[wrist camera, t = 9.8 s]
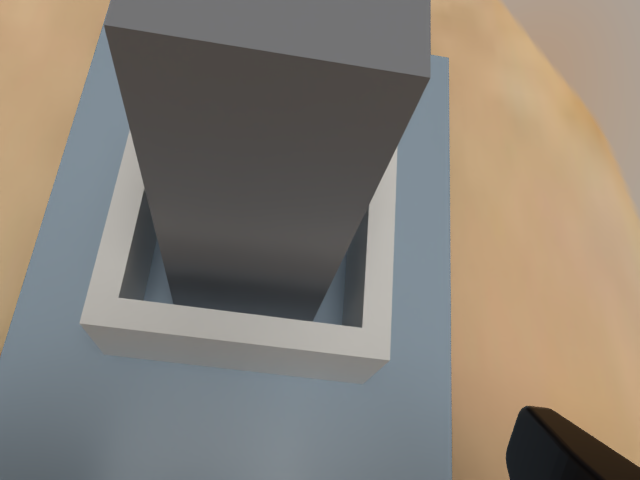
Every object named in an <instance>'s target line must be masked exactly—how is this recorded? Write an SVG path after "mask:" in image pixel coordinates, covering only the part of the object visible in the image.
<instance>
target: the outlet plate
mask: <svg viewBox="0 0 640 480" xmlns="http://www.w3.org/2000/svg"><path fill="white" fill-rule="evenodd" d="M110 2H111V1H110ZM109 5H110V4H109ZM108 9H109V8H108ZM107 12H108V11H107ZM106 15H107V14H106ZM105 19H106V17H105ZM104 22H105V21H104ZM0 480H452V416H451V287H450V158H449V58H447V57H441V56H435V55H431V78H430V80H429V82H428V84H427V86H426V88H425V90H424V92H423V94H422V96H421V98H420V101H419V103H418V105H417V107H416V109H415V111H414V113H413V115H412V117H411V119H410V121H409V123H408V125H407V127H406V129H405V132H404V134H403V136H402V138H401V140H400V142H399V144H398V146H397V148H396V150H395V152H394V154H393V156H392V158H391V161H390V163H389V165H388V167H387V169H386V171H385V173H384V175H383V177H382V179H381V181H380V183H379V185H378V187H377V189H376V192H375V194H374V196H373V198H372V200H371V202H370V204H369V206H368V208H367V210H366V212H365V214H364V216H363V218H362V221H361V223H360V225H359V227H358V229H357V231H356V233H355V235H354V237H353V239H352V241H351V243H350V245H349V247H348V249H347V252H346V254H345V256H344V258H343V260H342V262H341V264H340V266H339V268H338V270H337V272H336V274H335V276H334V278H333V281H332V283H331V285H330V287H329V289H328V291H327V293H326V295H325V297H324V299H323V301H322V303H321V305H320V307H319V309H318V312H317V314H316V316H315V318H314V320H313V322H311V321H303V320H295V319H287V318H279V317H271V316H263V315H255V314H246V313H238V312H230V311H222V310H214V309H206V308H198V307H190V306H182V305H174V304H173V300H172V296H171V292H170V288H169V284H168V280H167V276H166V272H165V268H164V264H163V260H162V256H161V252H160V248H159V244H158V240H157V236H156V232H155V228H154V224H153V220H152V216H151V212H150V208H149V204H148V200H147V196H146V192H145V188H144V184H143V180H142V176H141V172H140V168H139V164H138V160H137V156H136V152H135V148H134V144H133V140H132V136H131V132H130V128H129V124H128V120H127V116H126V112H125V108H124V104H123V100H122V96H121V92H120V88H119V84H118V80H117V76H116V72H115V68H114V64H113V60H112V56H111V52H110V48H109V44H108V40H107V36H106V32H105V28H104V24H103V27H102V30H101V33H100V37H99V40H98V43H97V46H96V50H95V53H94V56H93V59H92V63H91V66H90V69H89V72H88V75H87V79H86V82H85V85H84V88H83V92H82V95H81V98H80V101H79V105H78V108H77V111H76V114H75V117H74V121H73V124H72V127H71V130H70V134H69V137H68V140H67V143H66V147H65V150H64V153H63V156H62V159H61V163H60V166H59V169H58V172H57V176H56V179H55V182H54V185H53V189H52V192H51V195H50V198H49V201H48V205H47V208H46V211H45V214H44V218H43V221H42V224H41V227H40V231H39V234H38V237H37V240H36V243H35V247H34V250H33V253H32V256H31V260H30V263H29V266H28V269H27V273H26V276H25V279H24V282H23V285H22V289H21V292H20V295H19V298H18V302H17V305H16V308H15V311H14V315H13V318H12V321H11V324H10V327H9V331H8V334H7V337H6V340H5V344H4V347H3V350H2V353H1V357H0Z"/></svg>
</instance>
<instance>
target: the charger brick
mask: <svg viewBox="0 0 640 480" xmlns="http://www.w3.org/2000/svg"><path fill="white" fill-rule="evenodd" d="M104 28H105V32H106V36H107V40H108V44H109V48H110V52H111V56H112V60H113V64H114V68H115V72H116V76H117V80H118V84H119V88H120V92H121V96H122V100H123V104H124V108H125V112H126V116H127V120H128V124H129V128H130V132H131V136H132V140H133V144H134V148H135V152H136V156H137V160H138V164H139V168H140V172H141V176H142V180H143V184H144V188H145V192H146V196H147V200H148V204H149V208H150V212H151V216H152V220H153V224H154V228H155V232H156V236H157V240H158V244H159V248H160V252H161V256H162V260H163V264H164V268H165V272H166V276H167V280H168V284H169V288H170V292H171V296H172V300H173V304H174V305H182V306H190V307H198V308H206V309H214V310H222V311H230V312H238V313H246V314H255V315H263V316H271V317H279V318H287V319H295V320H303V321H311V322H313V320H314V318H315V316H316V314H317V312H318V309H319V307H320V305H321V303H322V301H323V299H324V297H325V295H326V293H327V291H328V289H329V287H330V285H331V283H332V281H333V278H334V276H335V274H336V272H337V270H338V268H339V266H340V264H341V262H342V260H343V258H344V256H345V254H346V252H347V249H348V247H349V245H350V243H351V241H352V239H353V237H354V235H355V233H356V231H357V229H358V227H359V225H360V223H361V221H362V218H363V216H364V214H365V212H366V210H367V208H368V206H369V204H370V202H371V200H372V198H373V196H374V194H375V192H376V189H377V187H378V185H379V183H380V181H381V179H382V177H383V175H384V173H385V171H386V169H387V167H388V165H389V163H390V161H391V158H392V156H393V154H394V152H395V150H396V148H397V146H398V144H399V142H400V140H401V138H402V136H403V134H404V132H405V129H406V127H407V125H408V123H409V121H410V119H411V117H412V115H413V113H414V111H415V109H416V107H417V105H418V103H419V101H420V98H421V96H422V94H423V92H424V90H425V88H426V86H427V84H428V82H429V80H430V78H431V43H430V0H111V2H110V5H109V9H108V12H107V15H106V19H105V22H104Z"/></svg>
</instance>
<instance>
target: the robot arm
mask: <svg viewBox="0 0 640 480" xmlns="http://www.w3.org/2000/svg"><path fill="white" fill-rule="evenodd" d="M506 464H507V469H508V473H509V477H510V480H640V467H638V466H637V465H635V464H634V463H632V462H631V461H629V460H628V459H626V458H625V457H623V456H622V455H620V454H619V453H617V452H615V451H614V450H612V449H611V448H609V447H608V446H606V445H605V444H603V443H602V442H600V441H599V440H597V439H596V438H594V437H593V436H591V435H590V434H588V433H587V432H585V431H584V430H582V429H581V428H579V427H578V426H576V425H575V424H573V423H572V422H570V421H569V420H567V419H566V418H564V417H562V416H561V415H559V414H558V413H556V412H555V411H553V410H552V409H549V408H543V407H534V406H525V407H524V408H522V409H521V410H520V412H519V414H518V417H517V420H516V423H515V426H514V429H513V432H512V435H511V438H510V441H509V444H508V447H507V452H506Z"/></svg>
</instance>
